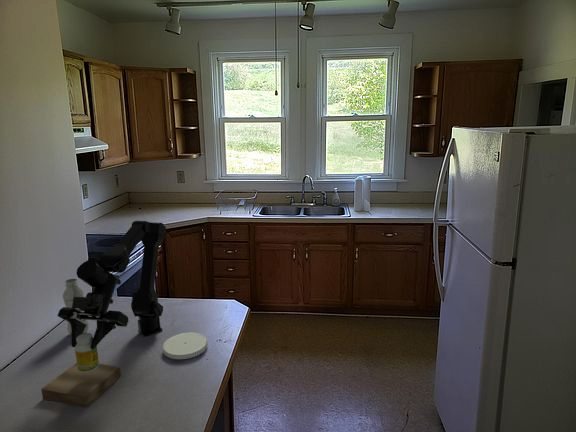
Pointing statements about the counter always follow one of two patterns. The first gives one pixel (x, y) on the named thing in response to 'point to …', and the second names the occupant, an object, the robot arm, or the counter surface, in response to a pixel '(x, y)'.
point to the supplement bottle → (86, 353)
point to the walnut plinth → (80, 385)
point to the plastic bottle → (68, 296)
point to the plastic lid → (185, 345)
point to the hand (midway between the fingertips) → (82, 347)
